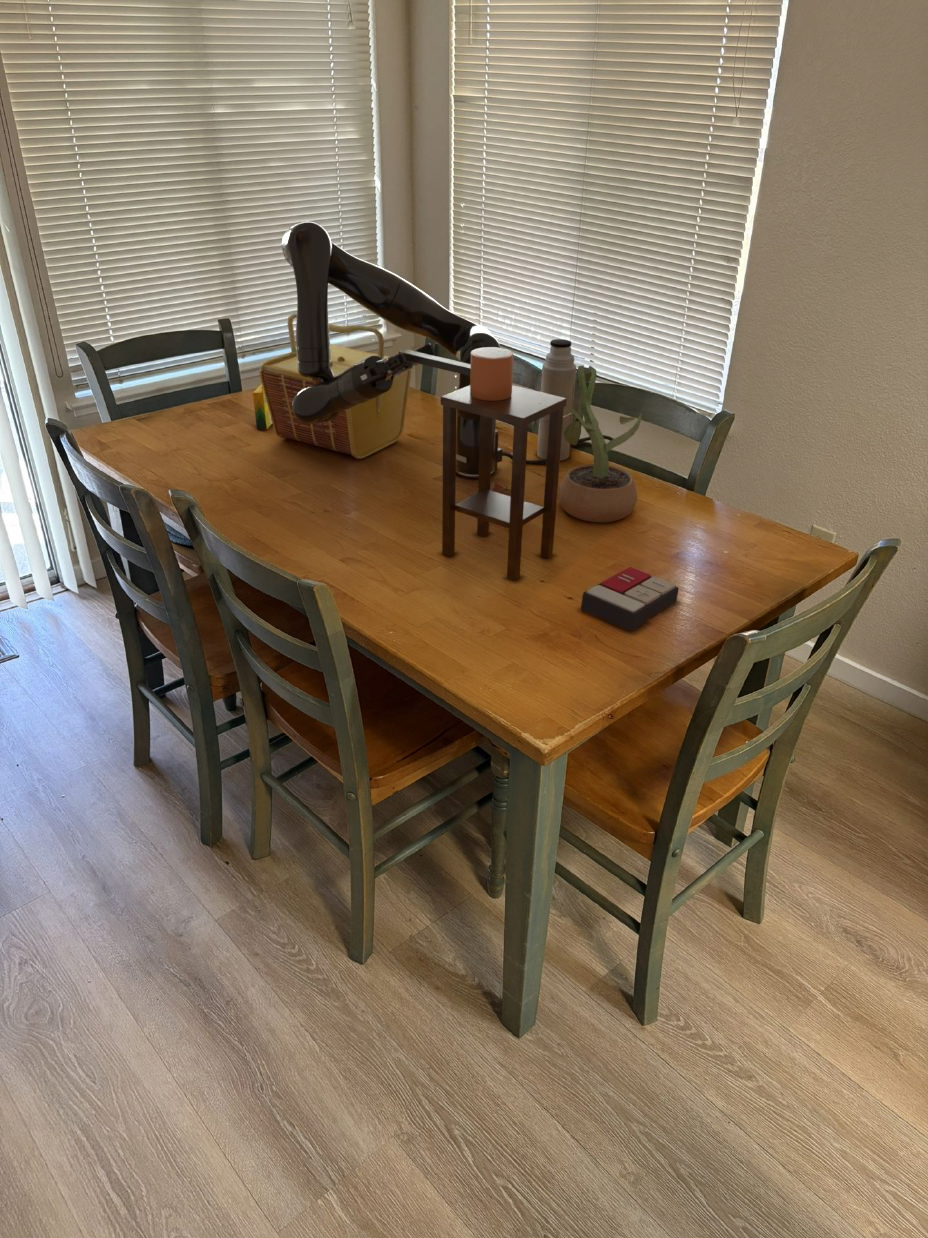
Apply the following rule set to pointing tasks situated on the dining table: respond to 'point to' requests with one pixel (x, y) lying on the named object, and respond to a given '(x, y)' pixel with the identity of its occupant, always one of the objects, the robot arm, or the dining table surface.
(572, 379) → the thermos bottle
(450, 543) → the plant stand
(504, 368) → the dipper cup
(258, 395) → the crayon box
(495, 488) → the fruit slice
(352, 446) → the picnic basket
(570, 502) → the potted plant
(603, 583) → the calculator
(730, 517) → the dining table surface
